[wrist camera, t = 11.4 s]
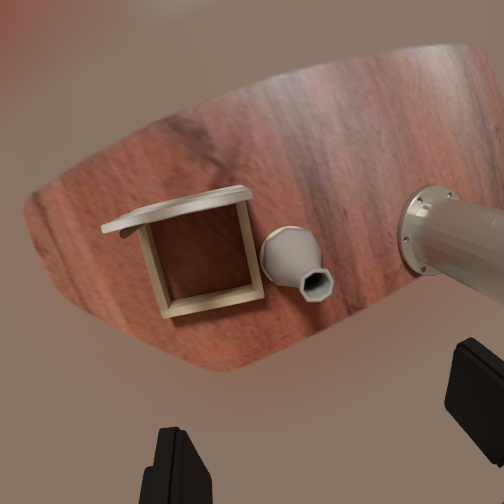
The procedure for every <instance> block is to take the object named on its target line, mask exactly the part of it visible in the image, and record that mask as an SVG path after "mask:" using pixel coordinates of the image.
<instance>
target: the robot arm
mask: <svg viewBox="0 0 504 504" xmlns="http://www.w3.org/2000/svg"><path fill="white" fill-rule="evenodd" d="M398 243H399V248H400V252H401V254H402V257H403V259H404V261H405V262H406V264H407V265H408V266H409V267H410V268H411V269H412V270H414V271H416V272H417V273H419V274H421V275H426V276H433V275H437V274H440V273H444V274H446V275H448V276H449V277H451V278H453V279H455V280H457V281H459V282H461V283H463V284H464V285H466V286H468V287H470V288H472V289H474V290H475V291H477V292H479V293H481V294H482V295H484V296H486V297H488V298H490V299H491V300H493V301H495V302H497V303H499V304H500V305H502V306H504V210H501V209H496V208H492V207H487V206H482V205H478V204H473V203H468V202H463V201H461V200H460V198H459V197H458V196H457V194H456V193H454V192H453V191H452V190H451V189H449V188H447V187H443V186H437V185H433V186H427V187H425V188H422V189H421V190H419V191H418V192H416V193H415V194H414V195H413V196H412V197H411V199H410V200H409V201H408V203H407V205H406V206H405V208H404V210H403V213H402V215H401V219H400V223H399V230H398ZM444 404H445V408H446V410H447V411H448V412H449V413H450V414H451V415H452V417H453V418H454V419H455V420H456V421H457V422H458V424H459V425H460V426H461V427H462V428H463V429H464V431H465V432H466V433H467V434H468V435H469V436H470V438H471V439H472V440H473V441H474V443H475V444H476V445H477V446H478V447H479V449H480V450H481V451H482V452H483V453H484V455H485V456H486V457H487V458H488V459H489V461H490V462H491V463H492V464H497V466H498V467H499V468H501V467H502V466H504V361H503V360H501V359H500V358H499V357H498V356H496V355H495V354H494V353H492V352H491V351H490V350H489V349H487V348H486V347H485V346H483V345H482V344H481V343H479V342H478V341H477V340H475V339H474V338H471V337H470V338H468V339H466V340H464V341H462V342H460V343H458V344H457V346H456V349H455V350H454V353H453V360H452V366H451V371H450V377H449V382H448V387H447V392H446V396H445V401H444ZM139 504H213V498H212V479H211V476H210V474H209V472H208V470H207V468H206V467H205V465H204V463H203V462H202V460H201V458H200V456H199V455H198V453H197V451H196V449H195V447H194V445H193V444H192V442H191V440H190V438H189V436H188V434H187V432H186V431H185V430H180V429H179V428H178V427H170V428H161V429H160V430H159V434H158V439H157V445H156V451H155V457H154V463H153V466H149V467H147V468H146V469H145V471H144V475H143V481H142V486H141V492H140V499H139ZM502 504H504V502H503V503H502Z"/></svg>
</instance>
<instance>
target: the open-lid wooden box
mask: <svg viewBox="0 0 504 504" xmlns="http://www.w3.org/2000/svg"><path fill="white" fill-rule="evenodd" d="M248 199H253V194H252V190H250V189H248V188H246V187H244V186H243V185H236V186H231V187H226V188H222V189H217V190H212V191H208V192H203V193H199V194H194V195H190V196H186V197H182V198H177V199H173V200H169V201H165V202H161V203H157V204H153V205H149V206H145V207H141V208H137V209H135V210H133V211H131V212H129V213H127V214H125V215H123V216H121V217H119V218H117V219H115V220H112V221H110V222H108V223H106V224H104V225H102V226H101V229H102V233H107V232H111V231H115V230H119V229H122V228H124V229H122V230H121V231H120V237H121V238H124V239H125V238H127V237H128V236H129V235H131V234H132V233H133V232H135V231H136V230H137V233H138V237H139V241H140V244H141V248H142V252H143V255H144V259H145V262H146V266H147V269H148V273H149V276H150V280H151V283H152V286H153V289H154V293H155V296H156V299H157V302H158V305H159V308H160V311H161V314H162V317H163V318H169V317H174V316H179V315H184V314H190V313H195V312H200V311H205V310H209V309H214V308H219V307H224V306H229V305H233V304H238V303H243V302H247V301H252V300H256V299H261V298H265V296H264V291H263V286H262V281H261V276H260V271H259V266H258V261H257V256H256V251H255V246H254V241H253V236H252V231H251V226H250V221H249V216H248V211H247V206H246V201H245V200H248ZM230 204H236V209H237V213H238V218H239V223H240V228H241V233H242V238H243V243H244V247H245V252H246V257H247V262H248V267H249V271H250V276H251V281H252V284H250V285H245V286H240V287H236V288H231V289H226V290H222V291H217V292H212V293H207V294H203V295H198V296H193V297H188V298H183V299H178V300H173V301H171V298H170V295H169V291H168V288H167V285H166V281H165V278H164V274H163V271H162V267H161V264H160V260H159V256H158V253H157V249H156V245H155V241H154V237H153V234H152V230H151V226H150V223H152V222H156V221H160V220H164V219H168V218H172V217H177V216H181V215H185V214H190V213H194V212H198V211H203V210H207V209H212V208H216V207H221V206H226V205H230Z"/></svg>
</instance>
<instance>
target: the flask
mask: <svg viewBox="0 0 504 504" xmlns="http://www.w3.org/2000/svg"><path fill="white" fill-rule="evenodd" d="M321 257H322V249H321V247H320V245H319V243H318V242H317V240H316V238H315V237H314V235H313V233H312V232H311V230H310V229H301V228H285V229H283V230H281V231H280V232H278V233H277V234H275V235H274V236H272V237H271V238H269V239H268V240H266V241H265V244H264V256H263V267H264V269H265V270H266V272H267V273H268V275H269V276H270V277H271V279H272V280H273V282H274V283H275V285H279V286H290V287H297V288H298V289H299V290H300V292H301V294H302V295H303V297H304V298H305V300H306V301H307V302H321V301H323V300H324V299H326V298H327V297H329V296H330V295H332V292H333V286H334V280H333V278H332V276H331V274H330V273H329V271H328V269H322V268H321Z"/></svg>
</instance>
